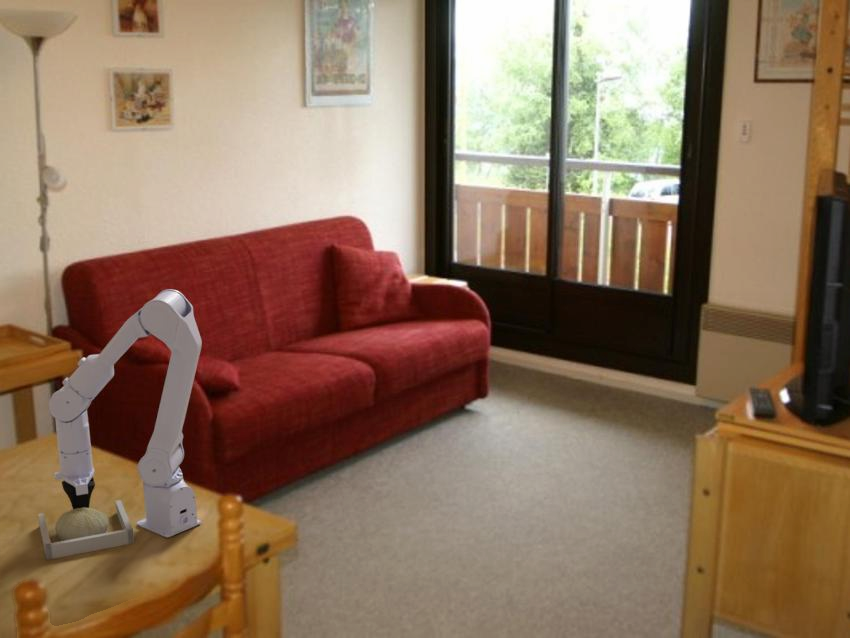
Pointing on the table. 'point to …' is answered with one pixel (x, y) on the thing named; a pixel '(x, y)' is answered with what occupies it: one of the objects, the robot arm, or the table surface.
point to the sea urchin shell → (81, 523)
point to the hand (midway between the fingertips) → (81, 516)
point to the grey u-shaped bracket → (88, 538)
